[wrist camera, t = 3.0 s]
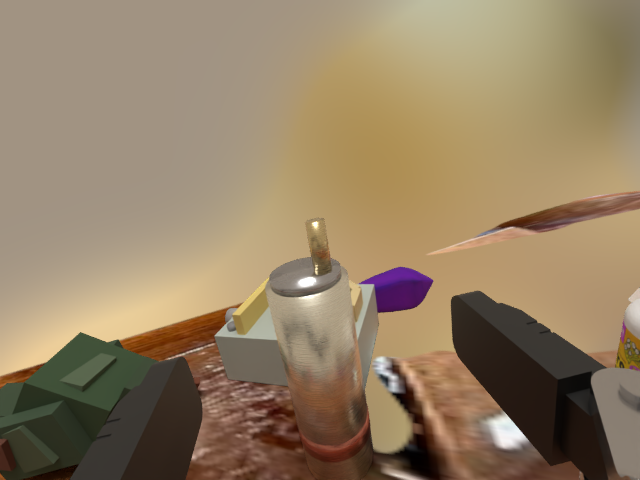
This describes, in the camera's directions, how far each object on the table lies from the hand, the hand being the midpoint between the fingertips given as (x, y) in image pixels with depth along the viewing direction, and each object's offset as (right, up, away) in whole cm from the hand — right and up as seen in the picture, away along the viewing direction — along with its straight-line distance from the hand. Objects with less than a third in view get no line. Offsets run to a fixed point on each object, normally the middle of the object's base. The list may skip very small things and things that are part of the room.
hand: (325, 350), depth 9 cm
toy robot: (-22, -17, +22) cm, 36 cm away
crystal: (+9, -7, +37) cm, 38 cm away
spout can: (+1, -14, +17) cm, 22 cm away
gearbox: (-3, -11, +30) cm, 32 cm away
